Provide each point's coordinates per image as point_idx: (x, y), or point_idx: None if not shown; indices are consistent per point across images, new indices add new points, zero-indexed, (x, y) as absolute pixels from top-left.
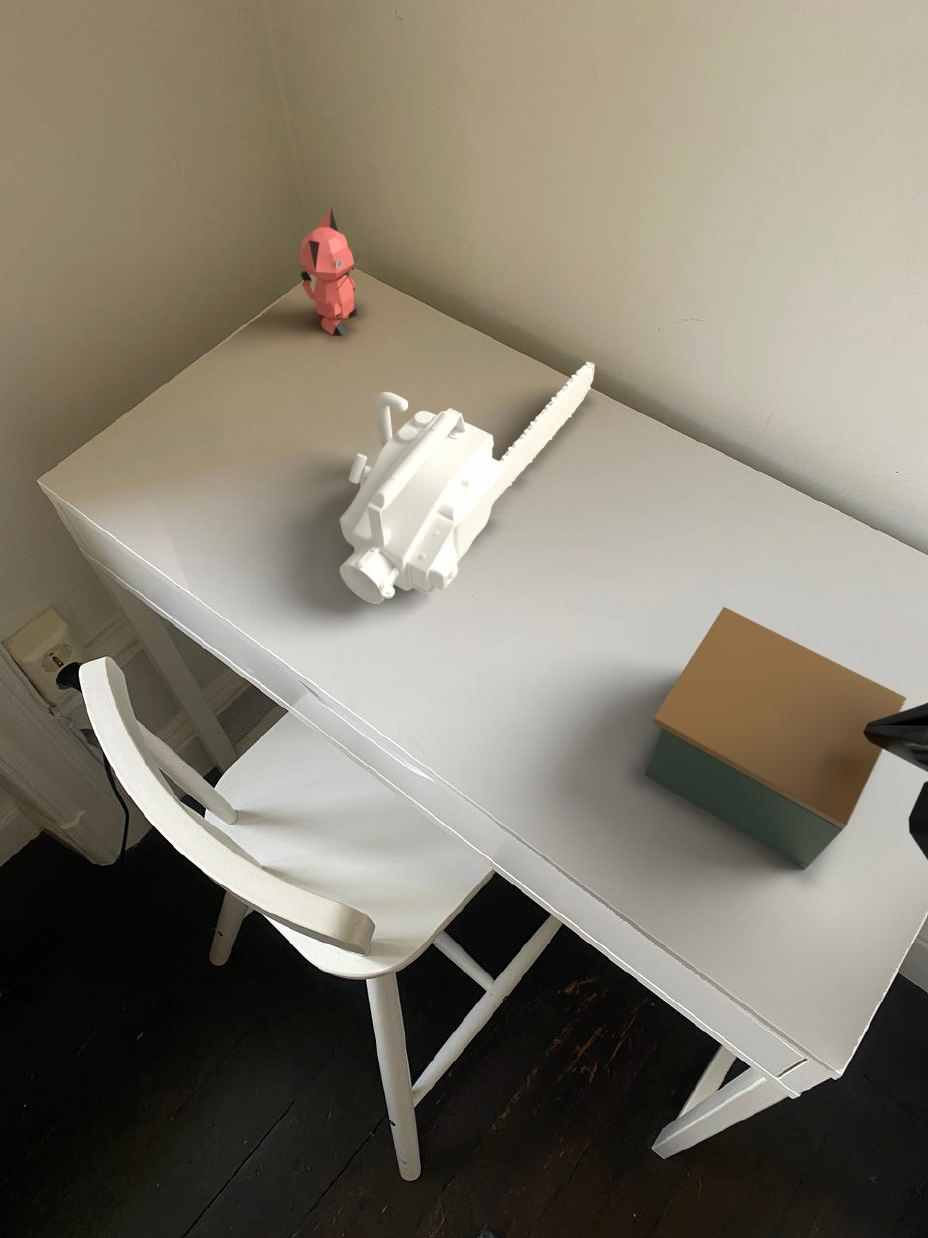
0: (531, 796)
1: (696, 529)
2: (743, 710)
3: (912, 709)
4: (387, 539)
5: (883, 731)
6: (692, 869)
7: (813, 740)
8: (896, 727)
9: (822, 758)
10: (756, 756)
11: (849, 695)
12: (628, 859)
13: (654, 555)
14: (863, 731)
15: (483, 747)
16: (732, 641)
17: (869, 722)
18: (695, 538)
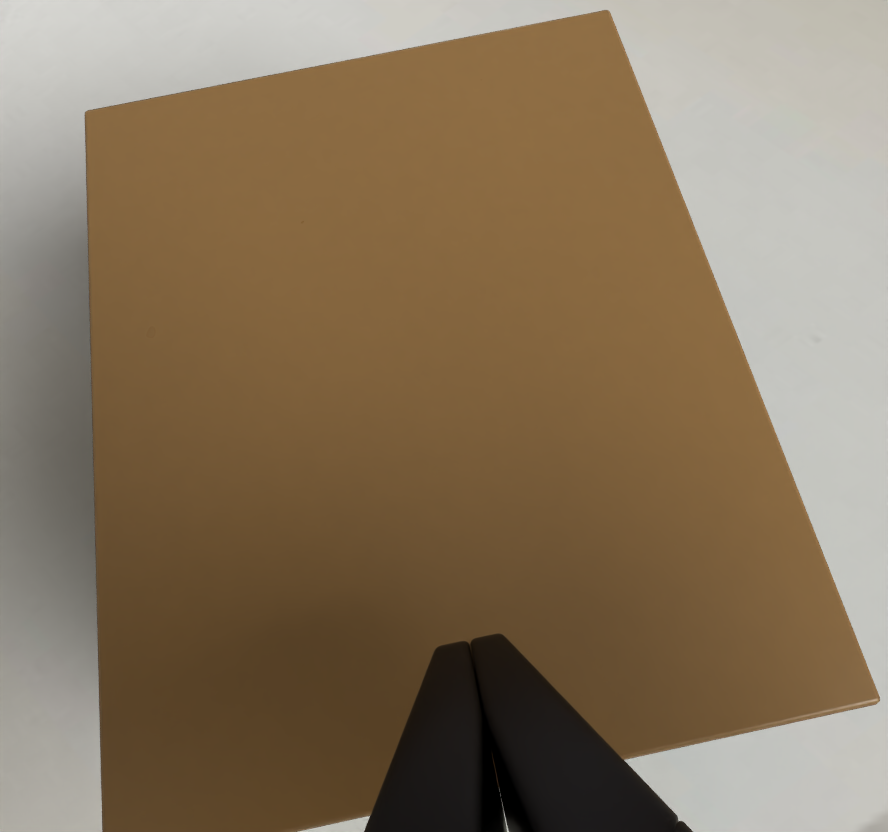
0: (31, 214)
1: (866, 23)
2: (300, 270)
3: (653, 818)
4: None
5: (424, 740)
6: (90, 564)
7: (370, 520)
8: (454, 803)
9: (326, 596)
10: (161, 407)
11: (670, 504)
12: (24, 442)
13: (721, 12)
14: (438, 646)
15: (69, 92)
16: (513, 95)
17: (503, 638)
18: (843, 36)
